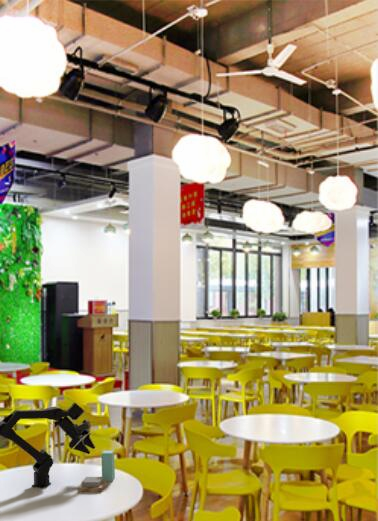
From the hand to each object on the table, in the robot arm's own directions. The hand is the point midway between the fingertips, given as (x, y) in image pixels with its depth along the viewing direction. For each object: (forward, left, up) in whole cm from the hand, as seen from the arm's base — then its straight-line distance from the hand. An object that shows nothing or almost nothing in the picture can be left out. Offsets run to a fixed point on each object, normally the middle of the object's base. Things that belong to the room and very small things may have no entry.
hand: (92, 450), depth 276 cm
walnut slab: (+7, -10, -14) cm, 19 cm away
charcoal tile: (+7, -10, -12) cm, 17 cm away
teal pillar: (+7, +3, -14) cm, 16 cm away
